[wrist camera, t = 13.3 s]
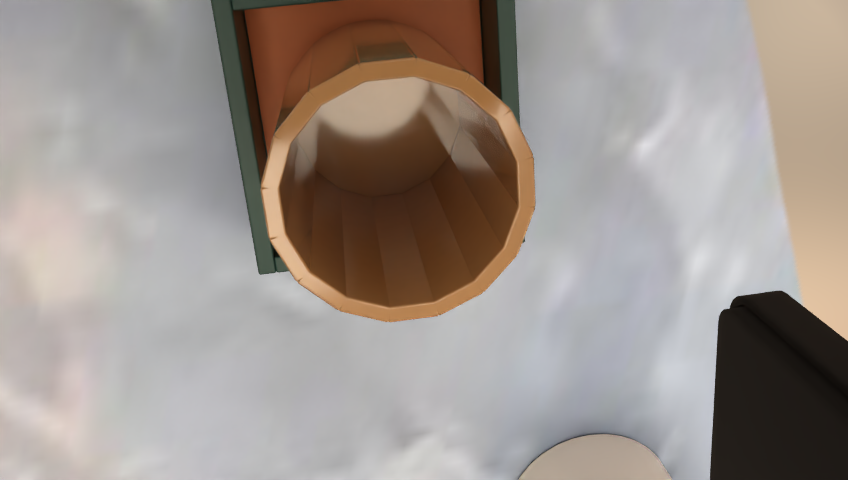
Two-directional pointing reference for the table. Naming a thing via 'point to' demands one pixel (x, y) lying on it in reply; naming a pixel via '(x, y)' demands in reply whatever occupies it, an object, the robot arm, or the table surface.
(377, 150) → the wooden cup
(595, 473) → the pill bottle
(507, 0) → the divided tray
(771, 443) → the robot arm
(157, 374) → the table surface
